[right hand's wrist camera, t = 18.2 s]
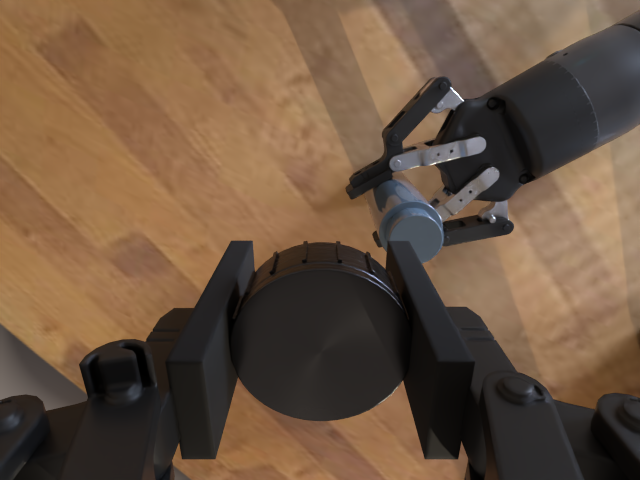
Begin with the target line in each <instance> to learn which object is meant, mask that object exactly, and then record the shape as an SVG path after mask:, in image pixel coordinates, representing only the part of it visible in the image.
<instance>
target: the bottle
mask: <svg viewBox="0 0 640 480" xmlns="http://www.w3.org/2000/svg"><path fill="white" fill-rule="evenodd" d="M392 175H393V177H392V178H391V179H389V180H387V181H385V182H383V183H381V184H380V185H378V186H376V187H374V188H373V189H371V190H369V191H367V192H365V193H364V196H365V199H366V201H367V204H368V207H369V210H370V213H371V216H372V219H373V222H374V225H375V228H376V231H377V233H378V236H379V239H380V242H381V244H382V246H383V248H384V249H385V251H386V252H387V243H388V241H409V242H410V244H411V245H412V247H413V249H414V251H415V253H416V254H417V256H418V258H419V260H420V262H421V264H422V263H425V262H427V261H429V260H431V259H432V258H433V257H434V256H435V255H437V253H438V252H439V250H441V247H442V245H443V243H444V231H443V225H442V220H441V218H440V216H439V214H438V212H437V211H436V210H435V209H434V208H433V207H432V205H431V204H430V203H429V202H428V201H427V200H426V199H425V197H424V196H423V195H422V194H421V193H420V192H419V191H418V189H417V188H416V187H415V186H414V185H413V184H412V182H411V181H410V180H409V179H408V178H407V177H406V176H405V174H404V173H403V172H402V171H398V172H394V173H392Z"/></svg>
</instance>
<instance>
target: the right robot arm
mask: <svg viewBox="0 0 640 480" xmlns="http://www.w3.org/2000/svg"><path fill="white" fill-rule="evenodd" d="M253 271H255V269H254V254H253V241H231V242H230V244H229V246H228V248H227V249H226V251H225V253H224V255H223V257H222V259H221V260H220V262H219V264H218V266H217V268H216V270H215V271H214V273H213V275H212V277H211V279H210V280H209V282H208V284H207V286H206V288H205V290H204V291H203V293H202V295H201V297H200V299H199V301H198V302H197V304H196V306H195V308H174V309H172V310H171V311H170V312H168V313H167V314H165V315H164V316H163V317H161V318H160V319H159V321H158V322H157V324H156V325H155V327H154V328H153V332H151V333H150V334H149V336H148V337H147V339H146V342H144V341H140V340H136V339H126V340H119V341H114V342H110V343H107V344H105V345H103V346H100V347H98V348H96V349H95V350H93V351H92V352H90V353H89V354H88V355H86V356H85V357H84V359H83V360H82V361H81V362H80V364H79V366H80V370H81V373H82V377H83V381H84V384H85V388H86V392H87V395H88V399H87V401H85V402H82V403H79V404H75V405H71V406H66V407H62V408H57V409H53V410H48V411H46V410H45V407H44V404H43V401H41V400H40V399H39V398H38V397H37V396H31V395H19V396H12V397H8V398H5V399H2V400H0V480H174V469H173V463H172V459H173V456H174V454H175V451H176V449H177V446H178V443H179V444H180V450H181V456H182V459H216V455H217V451H218V448H219V444H220V441H221V437H222V433H223V430H224V426H225V422H226V419H227V415H228V411H229V408H230V404H231V401H232V397H233V393H234V390H235V386H236V382H237V379H238V375H237V373H236V371H235V368H234V366H233V363H232V359H231V354H230V335H231V330H232V326H233V323H234V322H233V321H232V317H233V314H234V312H235V309H236V306H237V303H238V301H239V298H240V295H242V296H243V295H244V292H245V289H246V287H247V284H248V281H249V278H250V276H251V273H252V272H253ZM386 271H387V272H389V271H391V273H392V275H393V278H394V280H395V283H396V286H397V289H398V291H399V295H400V296H401V298H402V300H403V303H404V306H405V308H406V311H407V314H408V317H409V322H410V325H411V328H412V344H411V354H410V364H409V369H408V371H407V374H406V376H405V377H404V379H403V381H404V385H405V389H406V392H407V396H408V400H409V403H410V407H411V411H412V414H413V418H414V421H415V425H416V429H417V432H418V436H419V440H420V443H421V447H422V451H423V454H424V458H425V459H458V457H459V451H460V446H461V441H462V443H463V446H464V449H465V451H466V454H467V456H468V463H467V469H466V474H465V479H464V480H640V398H637V397H634V396H631V395H627V394H619V393H612V394H606V395H603V396H602V397H601V398H600V399H599V400H598V402H597V405H596V408H595V409H590V408H586V407H582V406H577V405H573V404H568V403H564V402H561V401H557V400H554V399H552V397H551V395H550V394H549V392H548V391H547V389H546V388H545V387H544V386H543V385H541V384H540V383H539V382H538V381H536V380H535V379H533V378H531V377H529V376H527V375H525V374H522V373H518V372H517V371H516V370H515V368H514V367H513V365H512V364H511V362H510V361H509V359H508V358H507V356H506V355H505V353H504V352H503V350H502V349H501V347H500V346H499V344H498V343H497V341H496V340H494V337H493V335H492V334H491V332H490V331H488V328H487V326H486V325H485V323H484V322H483V320H482V319H481V317H480V316H478V315H477V314H475V313H474V312H473V311H471V310H470V309H468V308H467V307H445V306H444V304H443V302H442V300H441V298H440V296H439V295H438V293H437V291H436V289H435V287H434V285H433V284H432V282H431V280H430V278H429V276H428V275H427V273H426V271H425V269H424V267H423V265H422V264H421V262H420V260H419V258H418V256H417V254H416V253H415V251H414V249H413V247H412V245H411V244H410V242H409V241H388V243H387V257H386Z"/></svg>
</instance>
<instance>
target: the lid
mask: <svg viewBox="0 0 640 480" xmlns="http://www.w3.org/2000/svg"><path fill="white" fill-rule="evenodd" d="M232 321H233V322H234V323H233V326H232V330H231V335H230V354H231V359H232V363H233V366H234V368H235V371H236V373H237V375H238V377H239V379H240V380H241V382H242V384H243V385H244V386H245V387H246V388H247V390H248V391H249V392H250V393H251V394H252V395H253V396H254V397H255V398H256V399H258V400H259V401H260V402H262V403H263V404H264V405H266V406H268V407H270V408H271V409H273V410H275V411H277V412H280V413H282V414H284V415H288V416H291V417H294V418H299V419H303V420H312V421H331V420H339V419H345V418H349V417H352V416H356V415H359V414H361V413H363V412H366V411H368V410H370V409H372V408H374V407H375V406H377V405H379V404H380V403H381V402H383V401H384V400H386V399H387V398H388V397H389V396H390V395H391V394H392V393H393V392H394V391H395V390H396V389H397V387H398V386H399V385H400V384H401V382H402V381H403V379H404V377H405V376H406V374H407V371H408V369H409V364H410V354H411V344H412V328H411V325H410V322H409V317H408V314H407V311H406V308H405V306H404V303H403V300H402V298H401V296H400V295H399V291H398V289H397V286H396V283H395V280H394V278H393V275H392V273H391V271H389V272H387V271H386V270H385V269H384V268H383V267H382V266H381V265H380V264H379V263H378V262H377V261H376V260H374V259H373V258H372V257H371V255H370V253H369V252H366V253H363V252H361V251H359V250H357V249H354V248H352V247H349V246H345V245H341V244H340V242H339V241H336V243H327V242H316V243H308V242H307V241H304V243H303V244H302V245H298V246H294V247H291V248H289V249H286V250H284V251H282V252H280V253H278V252H277V251H276V252H274V254H273V257H272V258H270V259H269V260H267V261H266V262H265V263H264V264H263V265H262V266H261V267H260V268H259V269H258V270H257V271H256V272H255V271H253V272H252V273H251V276H250V278H249V281H248V284H247V287H246V289H245V292H244V295H243V296H242V295H240V298H239V301H238V303H237V306H236V309H235V312H234V314H233V317H232Z"/></svg>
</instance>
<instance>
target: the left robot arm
mask: <svg viewBox="0 0 640 480" xmlns="http://www.w3.org/2000/svg"><path fill="white" fill-rule="evenodd" d="M447 108H449V109H450V112H449V114H448V116H447V118H446V120H445V122H444V123H443V125H442V127H441V129H440V131H439V133H438V135H437V137H436V138H434V139H430V140H426V141H422V142H418V143H415V144H413V145H411V146H408V147H404V148H403V145H402V141H403V140H404V139H405V138H406V137H407V136H408V135H409V134H410V133H411V132H412V130H413V129H414V128H415V127H416V126H417V125H418V124H419V123H420V122H421V121H422V120H423V119H424V118H425V117H426V116H427V114H428V113H429V112H432V113H440V112H442V111H443V110H444V109H447ZM639 124H640V10H639V11H637V12H635V13H633V14H632V15H630V16H628V17H626V18H625V19H623V20H621V21H619V22H618V23H616V24H614V25H612V26H611V27H609V28H607V29H605V30H603V31H601V32H598V33H596V34H594V35H591V36H589V37H586V38H584V39H582V40H580V41H578V42H576V43H574V44H572V45H570V46H568V47H567V48H565V49H563V50H560V51H556V52H555V53H553V54H551V55H550V56H548V57H547V58H546V59H545V60H544V61H542V62H540V63H539V64H537V65H535V66H533V67H532V68H530V69H528V70H526V71H525V72H523V73H521V74H519V75H518V76H516V77H514V78H512V79H511V80H509V81H507V82H506V83H504V84H502V85H500V86H499V87H497V88H495V89H493V90H492V91H490V92H488V93H486V94H485V95H483V96H481V97H479V98H475V99H464V100H462V99H461V97H460V96H459V95H458V94H457V93H456V92H455V91H454V90H453V89H452V88H451V81H450V79H449V78H447V77H433V78H431V79H429V80H428V82H427V83H426V84H425V85H424V86H423V87H422V88H421V89H420V90H419V91H418V93H417V94H416V95H415V96H414V97H413V98H412V99H411V100H410V101H409V102H408V104H407V105H406V106H405V107H404V108H403V109H402V110H401V111H400V112H399V113H398V114H397V116H396V117H395V118H394V119H393V120H392V121H391V122H390V123H389V124H388V125H387V127H386V128H385V129H384V130H383V132H382V137H383V141H384V154H383V156H382V157H381V158H380V159H378V160H376V161H374V162H373V163H371V164H369V165H367V166H366V167H364V168H362V169H360V170H359V171H357V172H355V173H353V175H352V176H351V177H350V178H349V181H350V184H349V185H348V186H347V187H346V192H347V194H348V195H349V197H350V199H354V198H356V197H358V196H360V195H362V194H364V193H365V192H367V191H369V190H371V189H373V188H374V187H376V186H378V185H380V184H381V183H383V182H385V181H387V180H389V179H391V178H392V177H393V175H392V173H394V172H398V171H402V170H406V169H410V168H414V167H418V166H428V165H432V164H435V166H436V167H437V168H438V169H439V170H440V172H441V178H442V182H443V184H444V185H443V186H442V187H441V188H439V189H438V190H437V191H436V192H435V193H434V195H433V197H432V199H430V200H429V201H428V202H429V203H430V204H431V205H432V207H433V208H434V209H435V210H436V211H437V212H438V214H439V216H440V218H441V220H442V225H443V231H444V243H443V245H442V246H450V245H455V244H460V243H465V242H471V241H476V240H481V239H486V238H491V237H496V236H502V235H507V234H509V233H511V232H512V231H513V228H514V225H513V223H512V222H511V221H510V220H509V219H508V209H507V200H508V199H509V198H511V197H512V196H513V194H514V193H515V192H516V191H517V189H518V188H520V187H521V186H522V185H524V184H526V183H529V182H531V181H534V180H536V179H538V178H540V177H542V176H544V175H546V174H548V173H550V172H552V171H554V170H556V169H558V168H560V167H562V166H564V165H565V164H567V163H569V162H571V161H573V160H575V159H577V158H579V157H581V156H583V155H585V154H587V153H589V152H591V151H592V150H594V149H596V148H598V147H600V146H602V145H604V144H606V143H608V142H610V141H612V140H614V139H616V138H618V137H620V136H622V135H623V134H625V133H627V132H629V131H630V130H632V129H633V128H635V127H636V126H638V125H639ZM472 200H482V201H491V202H490V204H489V205H488V206H487V207H485V208H482V209H481V210H480V211H479V213H478V215H474V216H469V217H464V218H459V219H454V220H449V221H445V220H446V219H447V218H448V217H450V216H451V215H455V214H457V213H458V212H459V211H460V210H462V209H463V208H464V207H465V206H466V205H467V204H468V203H470V202H471V201H472ZM372 235H373V238H374V241H375V242H376V244H377V246H378V247H383V246H382V244H381V242H380V239H379V236H378V233H377V231H375V232H374V233H373V234H372Z"/></svg>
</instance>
